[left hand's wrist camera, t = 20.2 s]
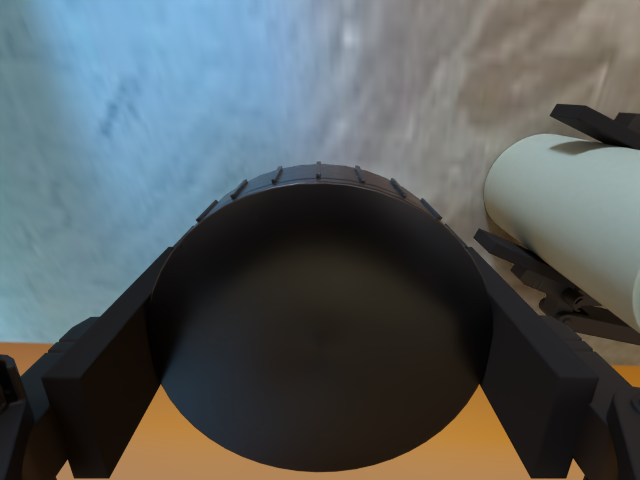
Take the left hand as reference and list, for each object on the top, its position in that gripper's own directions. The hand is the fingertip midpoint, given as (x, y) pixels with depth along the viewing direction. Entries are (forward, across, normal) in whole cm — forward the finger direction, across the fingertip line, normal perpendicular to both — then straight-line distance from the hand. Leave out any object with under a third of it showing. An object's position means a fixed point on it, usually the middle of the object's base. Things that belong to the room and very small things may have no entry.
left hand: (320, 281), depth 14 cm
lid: (-4, 0, 0) cm, 4 cm away
